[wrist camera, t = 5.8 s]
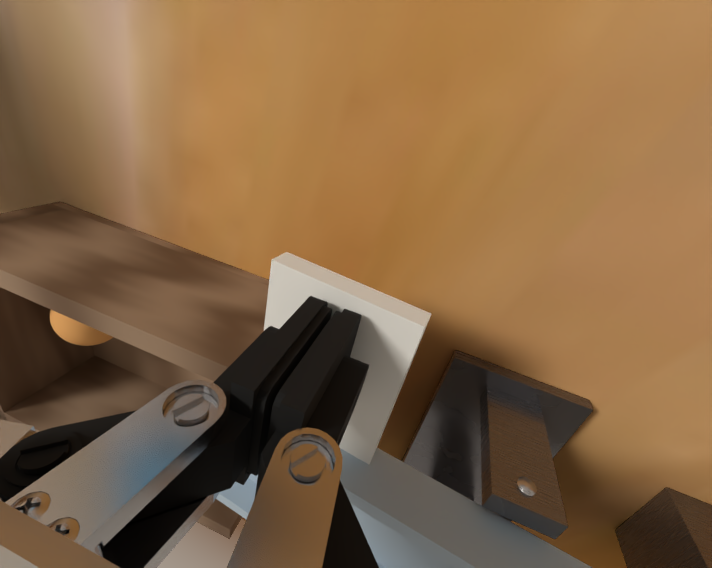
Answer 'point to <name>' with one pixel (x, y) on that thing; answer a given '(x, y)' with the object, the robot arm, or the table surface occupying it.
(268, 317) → the lever
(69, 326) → the ball
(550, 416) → the stand
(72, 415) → the box
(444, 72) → the table surface
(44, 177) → the table surface
